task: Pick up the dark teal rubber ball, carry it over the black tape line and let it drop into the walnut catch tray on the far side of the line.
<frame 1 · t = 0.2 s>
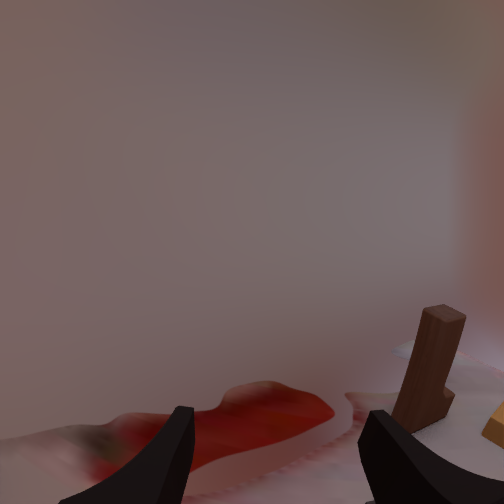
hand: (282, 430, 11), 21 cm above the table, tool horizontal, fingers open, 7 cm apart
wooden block: (418, 419, 37), on the table
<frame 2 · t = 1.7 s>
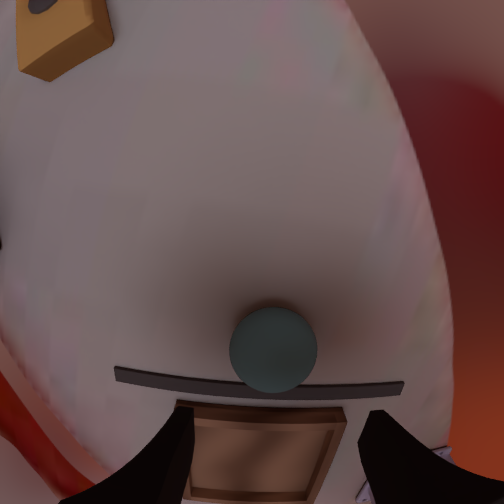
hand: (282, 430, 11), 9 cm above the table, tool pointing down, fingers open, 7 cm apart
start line: (263, 390, 21), on the table
ball: (273, 350, 17), point 2 cm above the table
rubber stamp: (72, 16, 15), on the table
catch tray: (254, 456, 23), on the table
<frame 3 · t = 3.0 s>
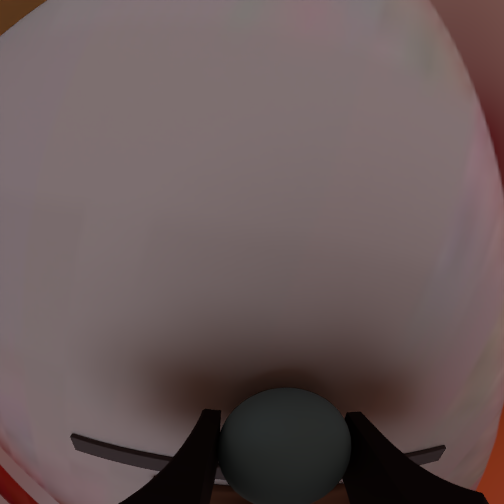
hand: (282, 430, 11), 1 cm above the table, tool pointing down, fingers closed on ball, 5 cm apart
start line: (267, 471, 14), on the table
ball: (284, 449, 10), point 2 cm above the table, touching gripper
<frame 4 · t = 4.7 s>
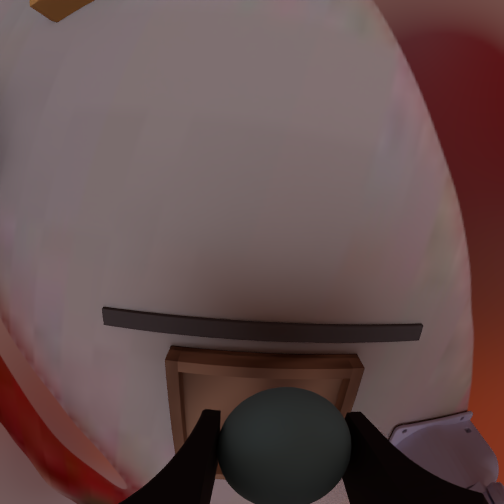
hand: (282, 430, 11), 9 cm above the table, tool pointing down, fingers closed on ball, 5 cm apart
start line: (268, 330, 20), on the table
ball: (284, 448, 10), point 10 cm above the table, touching gripper
catch tray: (258, 419, 22), on the table
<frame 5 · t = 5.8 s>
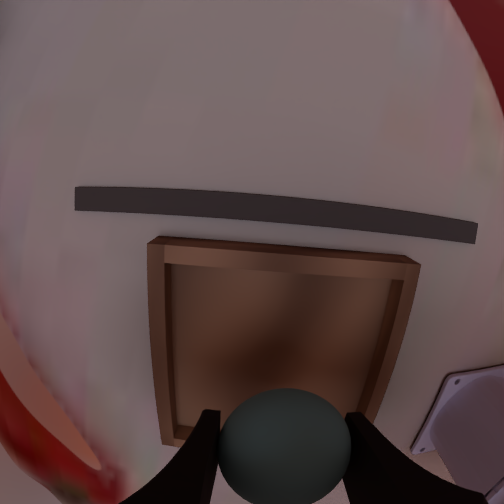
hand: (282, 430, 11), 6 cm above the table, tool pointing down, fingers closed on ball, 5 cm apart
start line: (292, 210, 15), on the table
ball: (284, 450, 10), point 7 cm above the table, touching gripper
catch tray: (274, 358, 17), on the table
when the fingers open (4 cm above the table, at t = 6.6 s): ball drops 2 cm, resting on catch tray.
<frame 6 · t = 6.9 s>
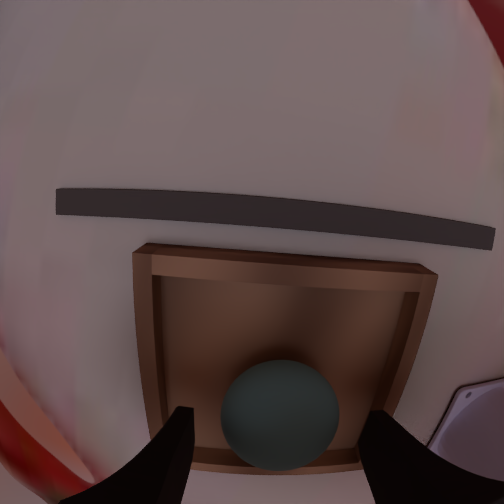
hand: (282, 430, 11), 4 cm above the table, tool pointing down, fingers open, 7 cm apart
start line: (296, 214, 13), on the table
ball: (280, 416, 12), point 3 cm above the table, touching catch tray
catch tray: (276, 376, 15), on the table
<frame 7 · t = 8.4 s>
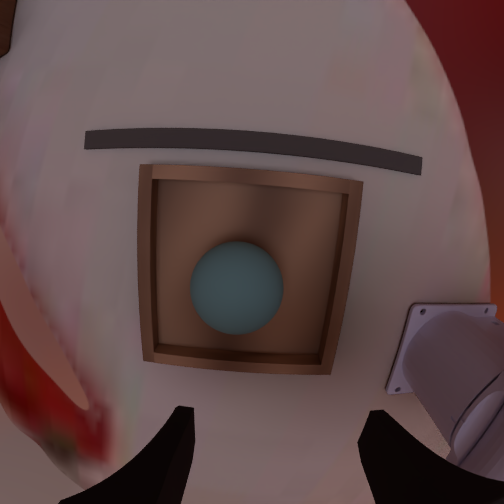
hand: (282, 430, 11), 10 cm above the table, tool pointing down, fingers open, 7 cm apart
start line: (253, 141, 18), on the table
ball: (236, 288, 17), point 3 cm above the table, tilted 7°, touching catch tray
catch tray: (243, 271, 20), on the table
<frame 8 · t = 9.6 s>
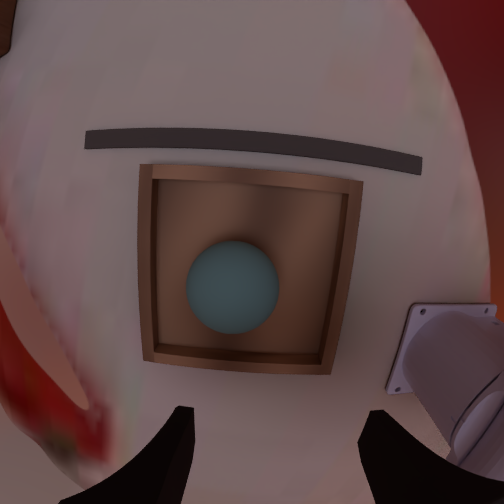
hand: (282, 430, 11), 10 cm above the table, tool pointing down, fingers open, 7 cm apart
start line: (254, 141, 18), on the table
ball: (232, 287, 17), point 3 cm above the table, tilted 12°, touching catch tray
catch tray: (243, 271, 20), on the table
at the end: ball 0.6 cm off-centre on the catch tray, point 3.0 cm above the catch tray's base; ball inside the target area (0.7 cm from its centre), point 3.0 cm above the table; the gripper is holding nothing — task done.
